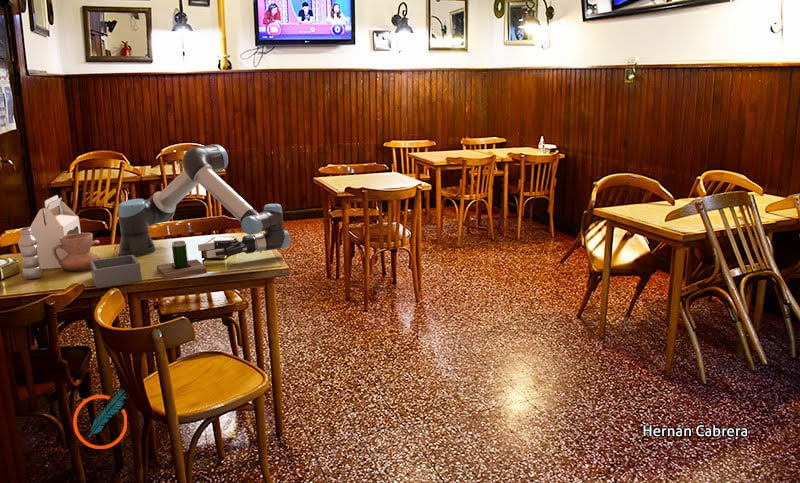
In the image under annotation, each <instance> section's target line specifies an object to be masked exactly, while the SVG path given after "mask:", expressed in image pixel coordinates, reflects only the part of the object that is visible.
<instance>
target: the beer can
mask: <svg viewBox="0 0 800 483" xmlns="http://www.w3.org/2000/svg"><path fill="white" fill-rule="evenodd" d="M171 244H172V245H171V250H172V258H173V263H174V269H175V270H176V269H182V268H189V267H188V260H189V259H188V250H187V248H188V247H187V243H186V241H184V240H178V241H177V240H176V241H172V243H171Z"/></svg>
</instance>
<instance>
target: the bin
mask: <svg viewBox="0 0 800 483" xmlns="http://www.w3.org/2000/svg"><path fill="white" fill-rule="evenodd" d="M90 266H91V269H90V271H91V277H92V280H93V283H94V285H95V287H96V289H101V288H107V287H112V286H113V287H114V286H119V285H125V284H131V283H137V282H142V281H143V278H142V277H143V276H142V269H141V263H140V262H139V260H138V259H137V257H136V256H134V255H127V256H121V255H119V256H114V257H108V258H101V259H99V260H92V261H90Z"/></svg>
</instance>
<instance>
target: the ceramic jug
mask: <svg viewBox="0 0 800 483" xmlns="http://www.w3.org/2000/svg"><path fill="white" fill-rule="evenodd" d="M60 241H61V244H62V245H60V244H58V245H55V246H54V247H53V249H52V252H53V255H54V257H55V258H56V259H57V261H58V262H59V264H60V266H61V267H62V269H64V270H66V271H69V272H83V271H88V270H91V266H90V261H92V260H99V259H102V258H101V257H100V256H99V255H97V254H96V253H94V252H91V247H92V246H94V245H95V244H98V245H100V240H98V239H95V240H93V233H92V232H81V233H78V234H70V235H65V236H61V237H60ZM57 248H61V249H63V250H65V251H66V252H67V254H68V255H67V256H66V257H65V258H64V259H63V260H62V261H61V260H60V259H59V257H58V255H57V253H56V249H57Z"/></svg>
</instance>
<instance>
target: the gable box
mask: <svg viewBox="0 0 800 483" xmlns="http://www.w3.org/2000/svg"><path fill="white" fill-rule="evenodd" d="M29 228H31V232H32V233H31V235H32V236H34V237H35V238H36V240H37V253H38V254H37V255H38V260H39V264H40V267H41V270H44V269H45V270H46V269H61V268H62V267H61V266H60V264H59V262H58V261H57V259H56V258H55V257H54V255H53V252H52V249H53V247H54V246H55V245H58V244H60V245H62V244H61V241H60V237H61V236H65V235H70V234H78V233H82V232H81V224H80V217H79V216H78V215H77V214H76V213H75V212H74V211H73V210H72V209H71V208H70V207H69V206H68V205H67V204H66V203H65V202H64V201H62V196H61V197H59V195H58V194H55V195H53V196H51V197H49V198H47V199H45V200H44V201H43V208H41V209H39V211H38V212H37V214H36V216H35V217H34V219H33V221H32V223H31V225H30V226H29ZM56 253H57V255H58V257H59V259H60V260H61V261H62V260H63V259H64V258H65V257H66V256H67V255H68V254H67V252H66V251H65V250H63V249H61V248H57V249H56ZM62 269H63V268H62Z"/></svg>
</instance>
